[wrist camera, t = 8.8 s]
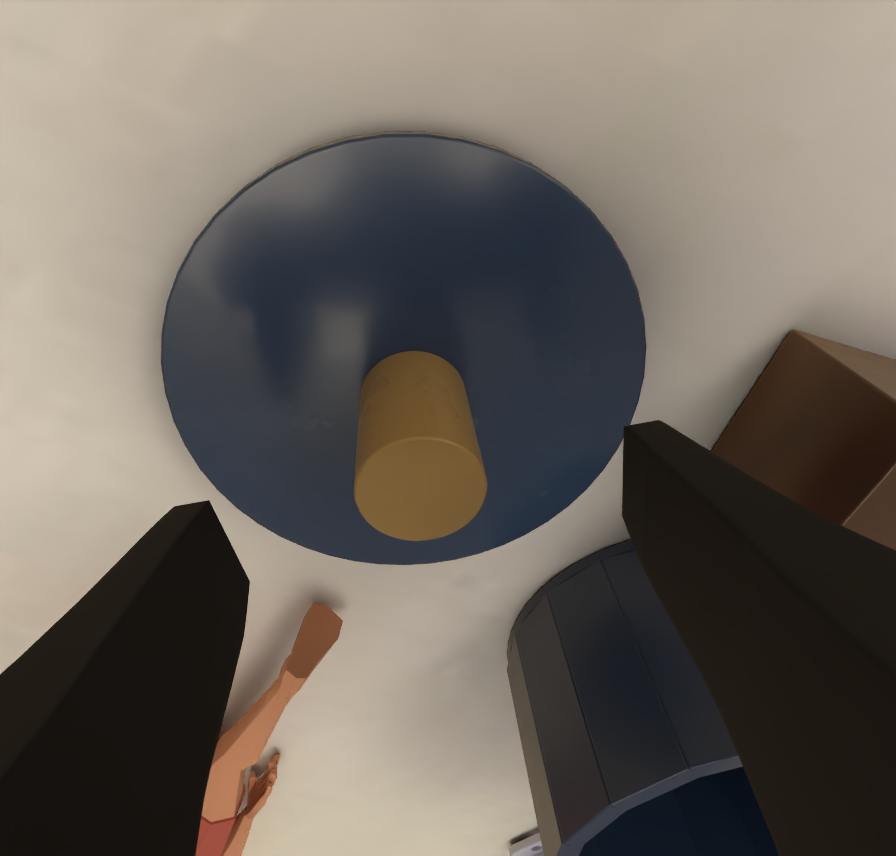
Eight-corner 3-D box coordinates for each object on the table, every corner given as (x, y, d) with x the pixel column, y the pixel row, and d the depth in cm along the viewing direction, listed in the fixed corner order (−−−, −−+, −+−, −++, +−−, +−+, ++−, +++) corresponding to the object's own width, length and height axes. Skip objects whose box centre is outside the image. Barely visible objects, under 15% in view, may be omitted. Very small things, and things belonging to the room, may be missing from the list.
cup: (603, 745, 25) (667, 946, 19) (447, 642, 20) (472, 869, 14) (832, 630, 22) (986, 828, 16) (712, 475, 17) (873, 683, 11)
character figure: (147, 545, 17) (50, 905, 28) (80, 659, 14) (0, 1016, 25) (362, 606, 19) (190, 923, 30) (350, 720, 15) (161, 1029, 27)
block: (822, 493, 18) (937, 610, 14) (700, 466, 17) (789, 585, 13) (924, 368, 15) (1093, 467, 12) (790, 328, 14) (929, 423, 11)
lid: (401, 590, 18) (406, 730, 15) (75, 367, 13) (-46, 494, 9) (706, 381, 15) (813, 492, 11) (428, -18, 10) (456, -59, 6)
